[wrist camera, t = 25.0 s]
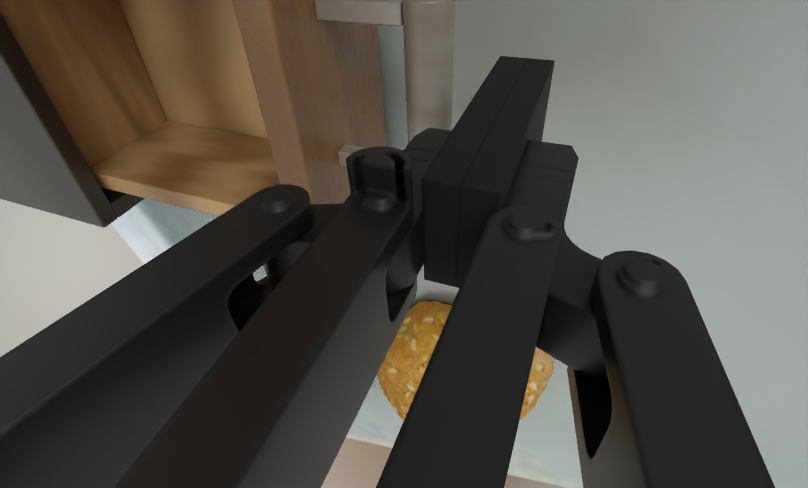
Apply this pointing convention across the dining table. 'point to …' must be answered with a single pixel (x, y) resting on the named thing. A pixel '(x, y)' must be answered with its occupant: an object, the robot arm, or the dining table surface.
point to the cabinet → (45, 149)
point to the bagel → (415, 352)
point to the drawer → (231, 89)
